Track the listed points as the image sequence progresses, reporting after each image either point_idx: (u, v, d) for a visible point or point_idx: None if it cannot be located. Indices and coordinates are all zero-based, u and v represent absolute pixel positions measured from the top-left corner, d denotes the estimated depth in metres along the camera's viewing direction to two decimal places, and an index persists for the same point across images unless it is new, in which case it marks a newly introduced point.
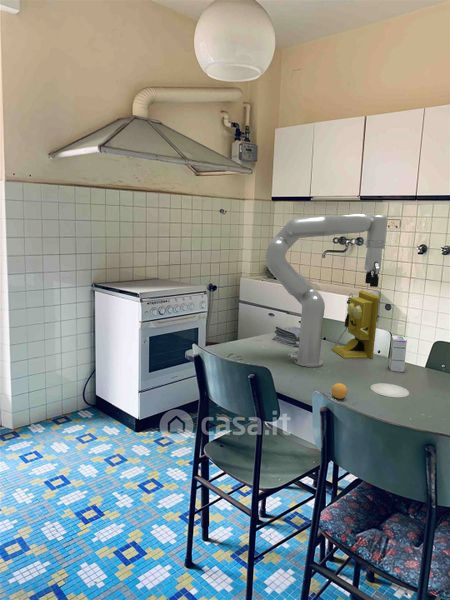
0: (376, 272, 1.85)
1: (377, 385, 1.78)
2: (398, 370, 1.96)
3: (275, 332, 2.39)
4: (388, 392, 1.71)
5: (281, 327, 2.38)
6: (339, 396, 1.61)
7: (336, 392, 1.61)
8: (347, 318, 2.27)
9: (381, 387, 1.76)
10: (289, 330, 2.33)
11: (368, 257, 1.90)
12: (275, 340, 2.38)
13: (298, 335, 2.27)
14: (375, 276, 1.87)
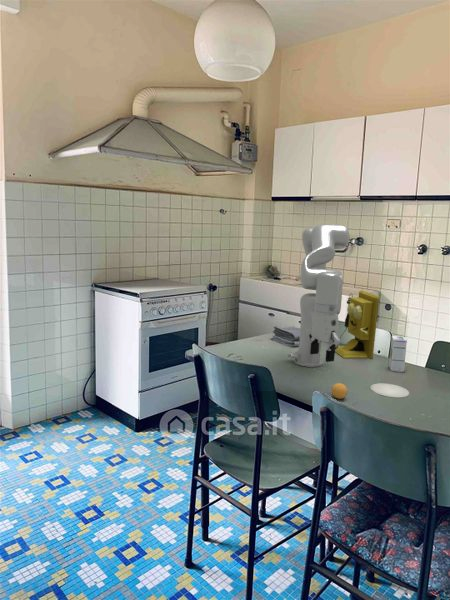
0: None
1: (377, 385, 1.78)
2: (398, 370, 1.96)
3: (273, 332, 2.39)
4: (388, 392, 1.71)
5: (279, 327, 2.38)
6: (339, 396, 1.61)
7: (336, 392, 1.61)
8: (347, 318, 2.27)
9: (381, 387, 1.76)
10: (287, 330, 2.33)
11: None
12: (273, 340, 2.38)
13: (296, 335, 2.27)
14: None
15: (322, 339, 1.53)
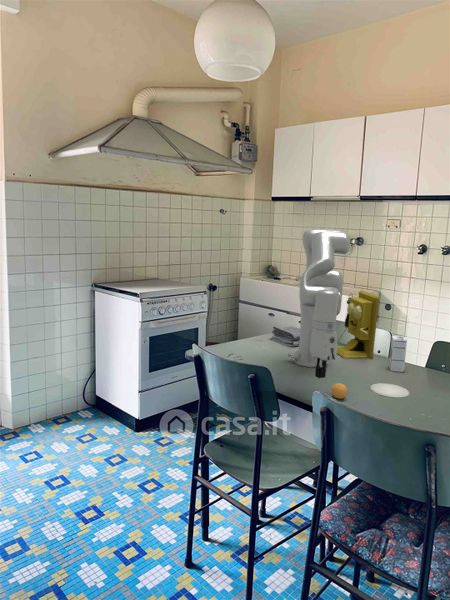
0: None
1: (377, 385, 1.78)
2: (398, 370, 1.96)
3: (273, 332, 2.39)
4: (388, 392, 1.71)
5: None
6: (339, 396, 1.61)
7: (336, 392, 1.61)
8: (347, 318, 2.27)
9: (381, 387, 1.76)
10: (287, 330, 2.33)
11: None
12: (273, 340, 2.38)
13: (295, 335, 2.27)
14: None
15: (321, 356, 1.54)
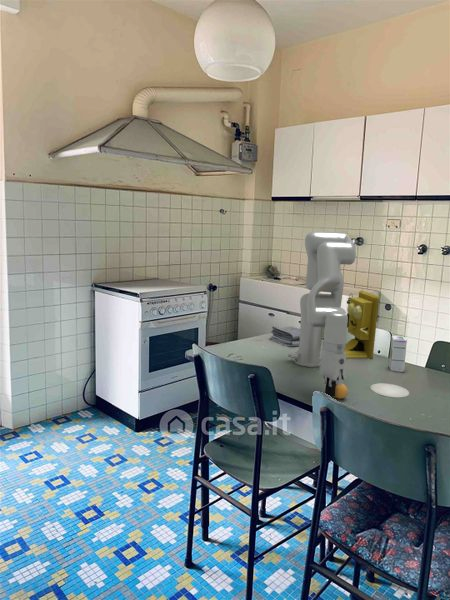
0: None
1: (377, 385, 1.78)
2: (398, 370, 1.96)
3: (272, 332, 2.38)
4: (388, 392, 1.71)
5: None
6: (340, 396, 1.61)
7: (337, 392, 1.61)
8: None
9: (381, 387, 1.76)
10: (286, 330, 2.33)
11: None
12: (272, 340, 2.38)
13: (294, 335, 2.26)
14: None
15: (330, 377, 1.58)
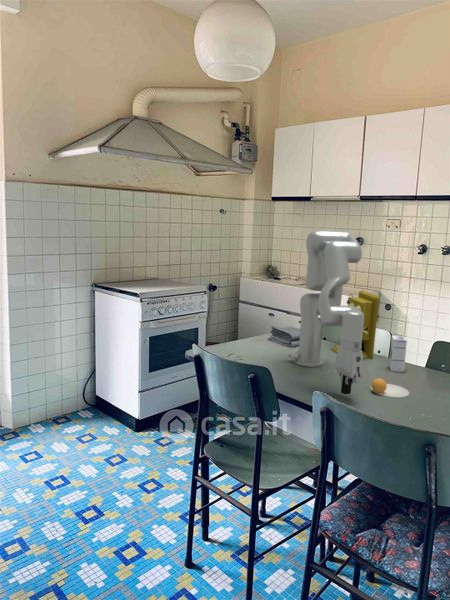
0: None
1: None
2: (398, 370, 1.96)
3: (271, 332, 2.38)
4: (388, 392, 1.71)
5: None
6: (380, 391, 1.69)
7: (377, 388, 1.68)
8: None
9: None
10: (285, 330, 2.33)
11: None
12: (271, 340, 2.38)
13: (293, 335, 2.26)
14: None
15: (347, 374, 1.60)
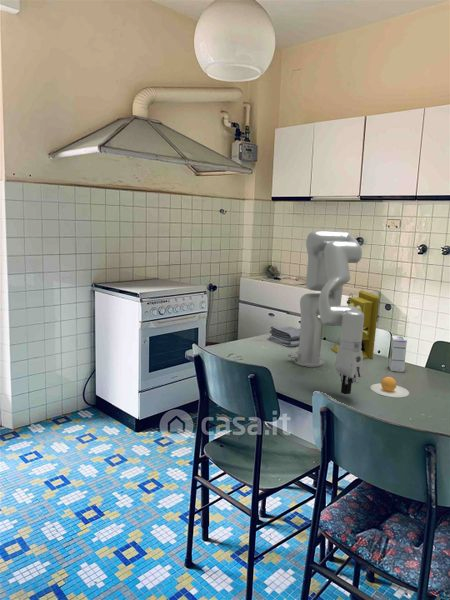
0: None
1: (377, 385, 1.78)
2: (398, 370, 1.96)
3: (270, 332, 2.38)
4: (388, 392, 1.71)
5: (276, 327, 2.37)
6: (390, 382, 1.70)
7: (393, 379, 1.71)
8: None
9: (381, 387, 1.76)
10: (284, 330, 2.33)
11: None
12: (270, 340, 2.38)
13: (293, 335, 2.26)
14: None
15: (347, 374, 1.60)
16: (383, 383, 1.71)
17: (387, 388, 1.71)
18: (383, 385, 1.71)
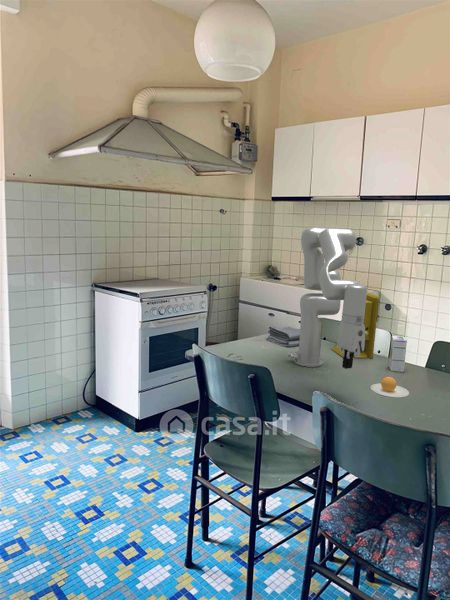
0: None
1: (377, 385, 1.78)
2: (398, 370, 1.96)
3: (269, 332, 2.38)
4: (388, 392, 1.71)
5: None
6: (390, 382, 1.70)
7: (393, 379, 1.71)
8: None
9: (381, 387, 1.76)
10: (282, 330, 2.32)
11: None
12: (268, 340, 2.37)
13: (291, 335, 2.26)
14: None
15: (349, 348, 1.59)
16: (383, 383, 1.71)
17: (387, 388, 1.71)
18: (383, 385, 1.71)
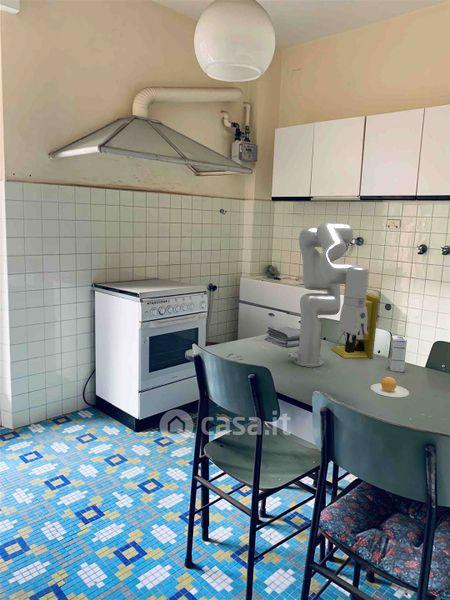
0: None
1: (377, 385, 1.78)
2: (398, 370, 1.96)
3: (267, 332, 2.38)
4: (388, 392, 1.71)
5: (273, 327, 2.37)
6: (390, 382, 1.70)
7: (393, 379, 1.71)
8: None
9: (381, 387, 1.76)
10: (281, 330, 2.32)
11: None
12: (267, 340, 2.37)
13: (290, 335, 2.26)
14: None
15: (351, 331, 1.58)
16: (383, 383, 1.71)
17: (387, 388, 1.71)
18: (383, 385, 1.71)
